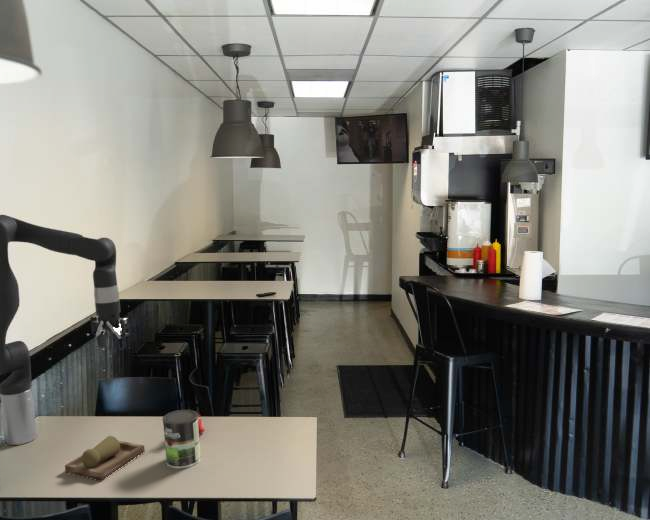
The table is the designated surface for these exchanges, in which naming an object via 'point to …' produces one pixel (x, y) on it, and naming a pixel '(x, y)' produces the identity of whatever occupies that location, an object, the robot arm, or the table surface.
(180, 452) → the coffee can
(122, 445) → the walnut tray
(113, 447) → the cork
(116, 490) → the table surface
